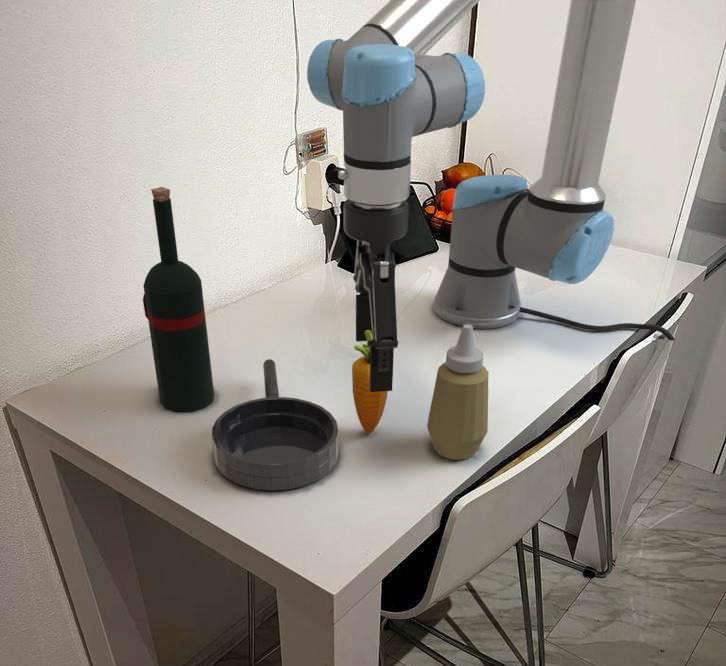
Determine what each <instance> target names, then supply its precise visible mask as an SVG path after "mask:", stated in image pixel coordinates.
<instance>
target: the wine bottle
mask: <svg viewBox="0 0 726 666" xmlns="http://www.w3.org/2000/svg"><path fill="white" fill-rule="evenodd" d="M150 191H151V195H152V197H153V199H152V206H153V212H154V219H155V226H156V236H157V242H158V249H159V256H160V262H157V263H156V264H154V265H153V266H152V267H151V268H150V270H149V271H148V272H147V275H146V276H145V278H144V282H143V295H142V304H143V310H144V311H143V312H144V316H145V318H146V319H147V320H148V328H149V335H150V342H151V348H152V356H153V362H154V368H155V376H156V377H155V378H156V382H157V390H158V396H159V403H160V405H162V407H164V409H165V410H168V411H172V412H175V413H192V412H196V411H200V410H204V409H205V408H207V407H208V406H209V405H211V404H212V403H213V402H214V398H215V389H214V388H215V387H214V381H213V372H212V371H213V370H212V362H211V355H210V354H211V353H210V346H209V345H210V343H209V335H208V328H207V319H206V309H205V301H204V294H203V293H204V291H203V284H202V279H201V277H200V275H199V273H197V272H196V271H195V270H194V268H193V267H191V266H190V265H189V264H188V263H185V262H183V261H181V260H179V255H178V247H177V240H176V239H177V238H176V229H175V222H174V215H173V214H174V213H173V207H172V206H173V205H172V199H171V197H170V196H171V195H170V194H171V189H169V188H167V187H164V186H159V187H155V188H152V189H150Z"/></svg>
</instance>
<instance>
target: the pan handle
mask: <svg viewBox="0 0 726 666" xmlns="http://www.w3.org/2000/svg"><path fill="white" fill-rule="evenodd" d="M262 364H263V365H262V366H263V379H264V381H263V382H264V393H265V398H269V397H280V396H279V386H278V376H277V366H276V365H277V364H276V362H275V361H274V360H273V359H270V358H269V359H266V360H264V362H263V363H262Z"/></svg>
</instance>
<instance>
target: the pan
mask: <svg viewBox="0 0 726 666" xmlns="http://www.w3.org/2000/svg"><path fill="white" fill-rule="evenodd" d="M211 441H212V450H213V461H214V463H215V466H216V468H217V470H218V471H219V472H220V473H221V475H223V476H224V477H225V478H226V479H227V480H229V481H231V482H233V483H235V484H237V485H239V486H242V487H245V488H250V489H254V490H261V491H262V490H263V491H285V490H292V489H296V488H297V489H298V488H302V487H305V486H308V485H310V484H312V483H315V482H317V481H319V480H321V479H322V478H323V477H325V476H326V475H328V474H329V473H330V472H331V470H332V469H333V468H334V467H335V466H336V464H337V460H338V457H339V426H338V421H337V420H336V418H335V417H334V416H333V414H332V413H331V412H330V411H329V410H327V409H326V408H325V407H323V406H321V405H319V404H317V403H314V402H311V401H309V400H305V399H300V398H297V397H285V396H279V397H269V398H266V397H261V398H256V399H251V400H248V401H245V402H241V403H239V404H236V405H234V406H232V407H231V408H229V409H226V410H225V411H224V412H222V414H220V416H218V418H216V420H215V422H214V424H213V426H212V428H211Z"/></svg>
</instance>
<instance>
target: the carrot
mask: <svg viewBox="0 0 726 666" xmlns="http://www.w3.org/2000/svg"><path fill="white" fill-rule="evenodd" d="M365 336H366V339H367V341H366V343H362V344H361V345H357V344H356V345H355V346H354V347H353V348H354V350H355V351H358V352H360V353H361V354H362V356H361V357H359V358H358V359H357V360H355V361H354V362H352V366H351V383H352V385H351V386H352V397H353V401H354V406H355V407H354V408H355V411H356V416H357V418H358V421H359V423H360V426H361V427H362V429H363V431H364V432H365V433H366V434H367V435H370V434H372V433H373V432H374V431H375V429H376V428H377V427H378V425H379V423H380V421H381V419H382V417H383V414H384V410H385V407H386V402H387V399H388V393H389V391H382V392H370V348H371V347H367V342H368V341H372V340H373V337H372V334H371V331H370V330H366V331H365Z"/></svg>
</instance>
